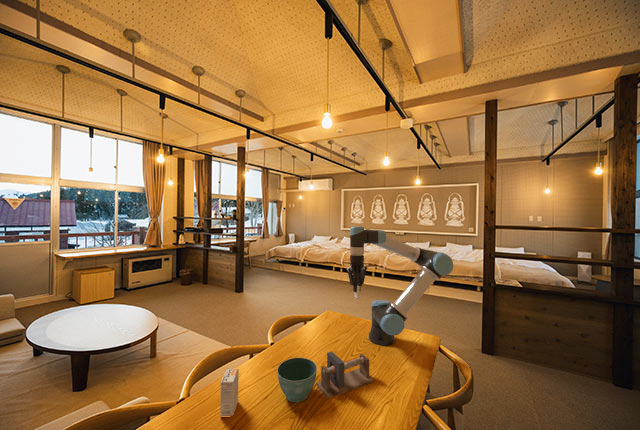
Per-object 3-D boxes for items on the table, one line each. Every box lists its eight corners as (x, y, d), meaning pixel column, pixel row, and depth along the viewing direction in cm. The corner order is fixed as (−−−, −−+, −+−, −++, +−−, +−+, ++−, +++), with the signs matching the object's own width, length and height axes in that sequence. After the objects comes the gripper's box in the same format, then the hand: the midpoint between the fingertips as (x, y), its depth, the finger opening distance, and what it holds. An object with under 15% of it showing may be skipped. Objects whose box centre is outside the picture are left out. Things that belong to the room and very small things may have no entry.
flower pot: (301, 416, 92) (301, 385, 92) (268, 399, 100) (268, 371, 100) (324, 390, 105) (324, 364, 106) (293, 378, 114) (293, 353, 114)
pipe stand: (360, 369, 121) (360, 350, 121) (374, 381, 112) (374, 360, 112) (316, 384, 109) (316, 363, 109) (327, 399, 100) (327, 376, 101)
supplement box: (226, 402, 98) (226, 368, 99) (238, 401, 99) (239, 367, 99) (219, 418, 90) (219, 381, 90) (233, 418, 91) (233, 381, 91)
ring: (331, 373, 113) (331, 351, 113) (344, 386, 104) (344, 362, 104) (327, 375, 112) (327, 352, 112) (339, 388, 103) (339, 363, 103)
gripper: (362, 253, 144) (362, 294, 144) (343, 254, 138) (343, 297, 138) (370, 254, 138) (370, 297, 137) (351, 256, 132) (351, 301, 131)
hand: (356, 297), depth 137 cm, fingers closed
